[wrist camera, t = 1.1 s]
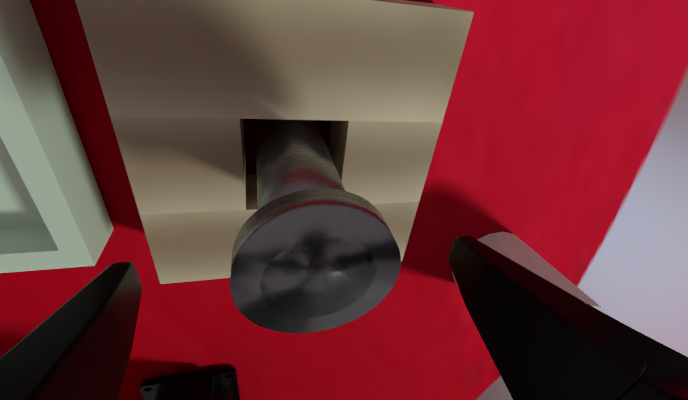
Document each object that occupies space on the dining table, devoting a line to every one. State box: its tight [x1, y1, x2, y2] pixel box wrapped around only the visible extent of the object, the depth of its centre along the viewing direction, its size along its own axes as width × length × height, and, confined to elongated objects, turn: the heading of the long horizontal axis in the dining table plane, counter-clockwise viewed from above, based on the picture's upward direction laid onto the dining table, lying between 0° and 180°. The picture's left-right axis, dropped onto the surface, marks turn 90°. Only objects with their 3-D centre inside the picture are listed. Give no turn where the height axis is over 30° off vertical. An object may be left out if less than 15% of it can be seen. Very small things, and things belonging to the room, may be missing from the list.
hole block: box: [75, 0, 474, 284], centre depth 14 cm, size 12×12×3 cm
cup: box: [452, 232, 607, 315], centre depth 22 cm, size 7×7×7 cm
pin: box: [230, 119, 401, 333], centre depth 12 cm, size 4×4×9 cm
